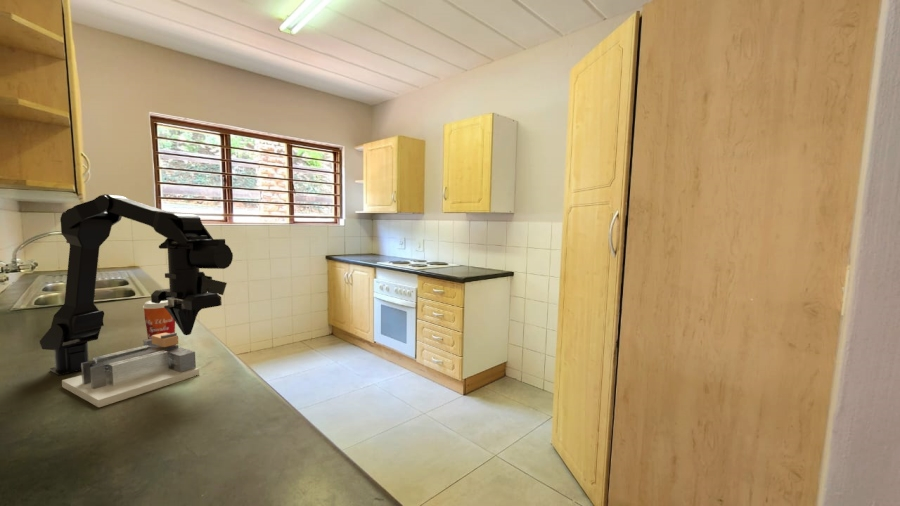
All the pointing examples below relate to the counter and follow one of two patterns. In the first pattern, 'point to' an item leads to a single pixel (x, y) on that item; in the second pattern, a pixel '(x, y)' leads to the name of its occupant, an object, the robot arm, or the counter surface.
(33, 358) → the counter surface
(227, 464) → the counter surface
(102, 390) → the board
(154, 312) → the paper cup
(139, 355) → the grey lever
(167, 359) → the grey piece
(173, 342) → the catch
